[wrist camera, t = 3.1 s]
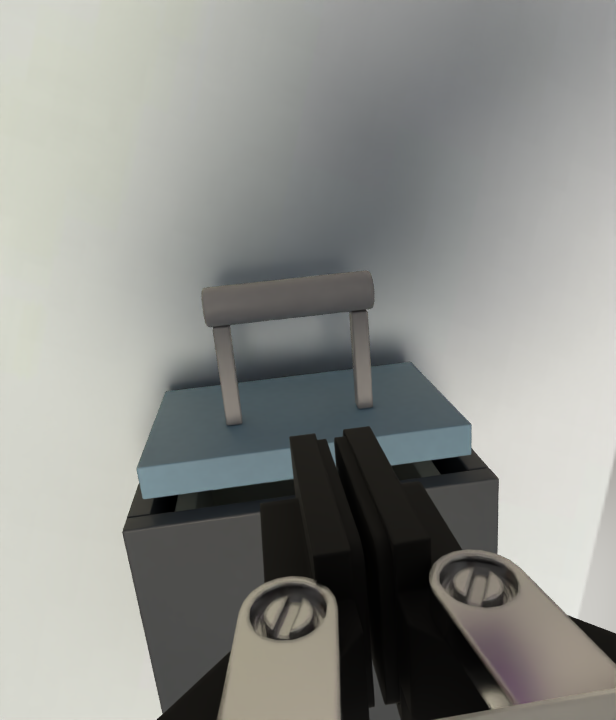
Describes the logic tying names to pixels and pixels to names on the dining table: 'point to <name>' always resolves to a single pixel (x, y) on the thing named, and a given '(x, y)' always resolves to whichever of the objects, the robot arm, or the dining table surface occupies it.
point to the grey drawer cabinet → (252, 568)
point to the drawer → (291, 404)
